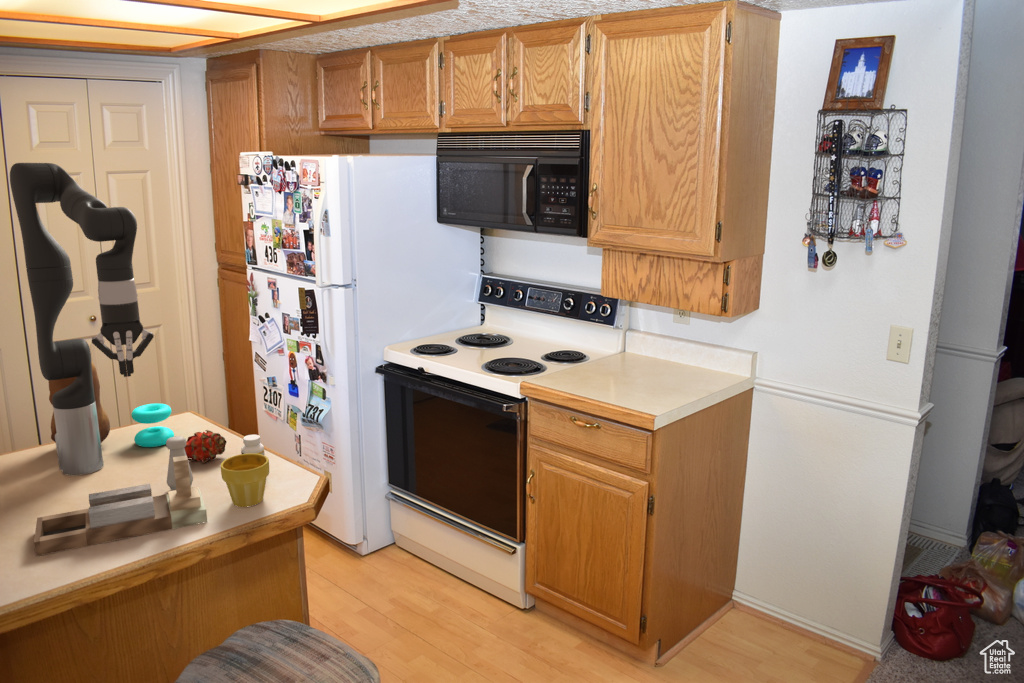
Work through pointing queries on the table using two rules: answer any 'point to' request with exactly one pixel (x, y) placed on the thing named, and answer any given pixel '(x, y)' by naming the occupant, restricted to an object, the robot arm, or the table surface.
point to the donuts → (148, 416)
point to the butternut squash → (101, 414)
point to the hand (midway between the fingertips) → (127, 375)
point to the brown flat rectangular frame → (109, 527)
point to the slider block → (183, 487)
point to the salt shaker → (176, 450)
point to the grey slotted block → (121, 506)
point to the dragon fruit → (204, 446)
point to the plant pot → (245, 478)
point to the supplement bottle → (252, 445)
